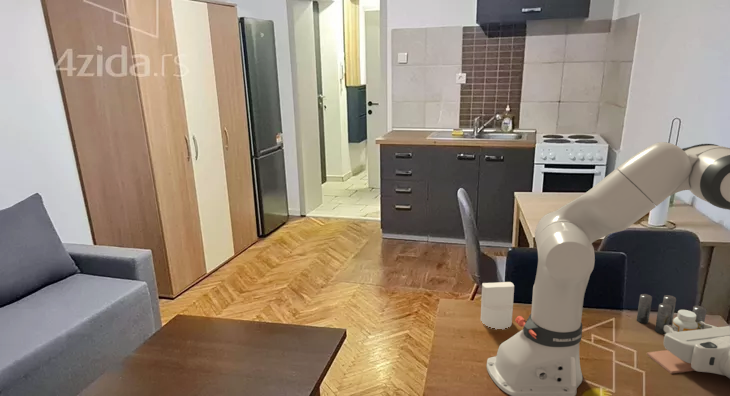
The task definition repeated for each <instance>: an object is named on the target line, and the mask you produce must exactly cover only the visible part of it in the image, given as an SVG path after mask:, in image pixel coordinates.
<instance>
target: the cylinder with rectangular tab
mask: <svg viewBox="0 0 730 396" xmlns="http://www.w3.org/2000/svg"><path fill="white" fill-rule="evenodd" d="M514 293H515V285H514V283H513V282H511V281H502V282H501V281H500V282H482V284H481V305H480V306H481V307H480V322H481V321H482V323H483V324H485V325H486V326H488V327H487V328H489V327H491V328H490V329H492V328H495V329H494V330H497V329H502V330H506V329H505V328H507V329H509V328H510V327H511V326H512V325H513V324H512V323H513V308H514V295H515V294H514ZM482 323H481V324H482ZM483 324H482V325H483ZM485 325H484V326H485ZM486 326H485V327H486ZM508 327H509V328H508Z"/></svg>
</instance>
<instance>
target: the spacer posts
mask: <svg viewBox="0 0 730 396" xmlns="http://www.w3.org/2000/svg"><path fill="white" fill-rule="evenodd" d="M662 299H663V300H662V303H659V304H658V309H657V313H656V315H657V316H656V319H655V321H656V322H655V327H654V332H656V333H657V334H660V335H665V334H666V332H665V331H664V326H665V325H671V326H672V324H673V320H674V314H675V310H676V309H675V308H676V302H677V298H676V297H675V296H673V295H668V294H664V296H663V298H662ZM652 301H653V296H652V295H650V294H647V293H642V294H640V295H639V301H638V307H637V308H638V309H637V314H636V321H637V323H640V324H645V325H646V324H649V323H650V322H649V321H650V314H651V308H652V307H651V306H652ZM691 312H694V313H695V314H696V320H695V321H696V322H699V321H702V322H704V323H706V316H707V308H706V307H704V306H700V305H693V306H692V311H691ZM697 330H698V328H697Z"/></svg>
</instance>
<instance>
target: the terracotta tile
mask: <svg viewBox="0 0 730 396" xmlns="http://www.w3.org/2000/svg"><path fill="white" fill-rule="evenodd" d="M646 356H647V357H649V358H650V359H652V361H654V362H655V363H657V364H658V365H659V366H661V367H662V368H663V369H664V370H665V371H667V372H668V373H669V374H678V373H679V374H680V373H685V372H693V371H696V370H694V369H693V368H692V367H691V363H687V362H685V361H683V360H681V359H679V358H678V357H676V356H675V355H674V354H672V353H671V352H670V351H668V350H667V349H665V350H657V351H656V350H655V351H649V352H646Z"/></svg>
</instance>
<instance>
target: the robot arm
mask: <svg viewBox="0 0 730 396" xmlns="http://www.w3.org/2000/svg"><path fill="white" fill-rule="evenodd" d="M683 191H690V192H691V193H692V195H694V196H695V197H697V198H698V199H701V200H702V201H705V202H707V203H708V204H710V205H712V206H714V207H717V208H720V209H723V210H729V211H730V147H726V146H722V145H718V144H715V143H701V144H695V145H691V146H688V147H683V148H681V147H680V146H678V145H676V144H673V143H670V142H665V141H660V142H655V143H653V144H651V145H649V146H648V147H646V148H644V149H642V150H640V151H639V152H637V153H635V154H634V155H633V156H631V157H629V158H628V159H627V160H625V161H624V162H622V163H621V164H620V165H619V166H617V167H616V168H615V169H614V170H613V171H611V172H610V173H609V174H608V175H606V176H605V177H604V178H602V179H601V180H599V182H597V184H595V185H594V186H593V187H592V188H590V189H589V190H588V191H586V192H584V193H583V194H582V195H580V196H578V197H576V198H575V199H574V200H572V201H570V202H568V203H565V205H563V206H561V207H560V208H558V209H556V210H554V211H552V212H551V211H550V212H549V213H547V214H544V215H543V216H542V217H541V218H540V219H539V221H538V222H537V225H536V228H535V231H534V239H535V242H536V243H535V244H536V249H537V250H536V251H537V268H536V273H535V274H536V275H535V280H534V284H533V287H532V299H531V300H532V301H531V313H530V314H529V315H528V317H527V319H525V318H524V317H523V316H522V315H518V316H517V317H515V319H514V320H515V322H516V324H517V325H518V326H519V327H523V328H522V329H521V330H519V331H518V332H517V333H515V334H514V335H512V336H511V337H509V338H508V339H507V340H505V341H503V342H501V344H499V347H498V349H497V352H496V355H495V356H491V357H488V358H487V360H486V371H487V373H488V375H489V376H490V378H491V380H492V381H493V382H494V384H495V385H496V386H497V387H498V388H499V389H501V390H502V391H503V392H504V393H506V394H507V395H509V396H577V388H578V387H579V386H580V385H581V384H582V382H583V374H582V370H581V369H582V368H581V362H580V342H581V341H582V339H583V338H582V337H583V336H582V335H583V322H582V316H583V308H584V307H583V306H584V298H585V293H586V289H587V287H588V283H589V280H590V276H591V274H592V272H593V270H594V268H595V261H596V259H595V256H596V255H595V248H594V246H593V243H594V242H596V241H597V240H600V239H602V238H604V237H606V236H608V235H611V234H613V233H618V232H623V231H625V230H627V229H629V228H630V227H631V226H632V225H633V224H635V223H637V222H638V221H639V220H640V219H641V218H643V217H644V216H646V215H648V213H650V212H651V211H653V210H654V209H655V208H656V207H658V206H659V205H660V204H662V203H663V202H664V201H665V200H666V199H668V198H669V197H671V196H673V195H674V194H676V193H679V192H683ZM696 323H697V325H698V327H697V328H698V330H690V331H681V332H677V331H674V327H673V326H672V325H665V326H664V331H665V332H666V334H664V337H663V347H664V348H665V350H668V351H670V352H671V353H672V354H674V355H675V356H676V357H678V358H679V359H681V360H683V361H685V362H687V363H691V367H692V368H693V369H694V370H695V371H696V372H699V373H700V372H702V373H709V374H710V373H711V374H716V375H720V376H726V377H727V378H728V379H730V325H727V326H718V327H717V326H716V325H713V324H712V325H711V324H709V323H706V322H702V321H699V322H696Z"/></svg>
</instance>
